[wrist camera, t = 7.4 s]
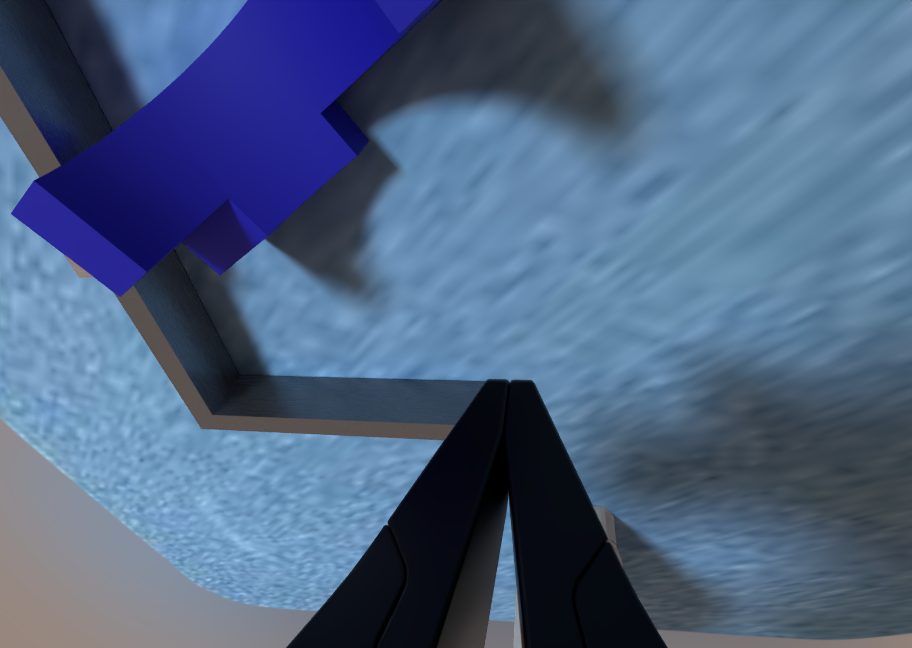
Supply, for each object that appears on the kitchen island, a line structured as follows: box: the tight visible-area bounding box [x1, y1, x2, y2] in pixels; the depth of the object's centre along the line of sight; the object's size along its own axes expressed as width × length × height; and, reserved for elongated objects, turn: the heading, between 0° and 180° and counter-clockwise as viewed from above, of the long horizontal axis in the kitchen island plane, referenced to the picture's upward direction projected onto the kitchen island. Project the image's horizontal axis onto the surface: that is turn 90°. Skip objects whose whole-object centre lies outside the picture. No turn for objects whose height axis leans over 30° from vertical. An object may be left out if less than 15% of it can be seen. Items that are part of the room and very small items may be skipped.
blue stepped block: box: [11, 0, 442, 297], centre depth 13 cm, size 12×4×6 cm, turn 128°
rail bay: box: [0, 0, 486, 440], centre depth 16 cm, size 13×20×3 cm, turn 6°
